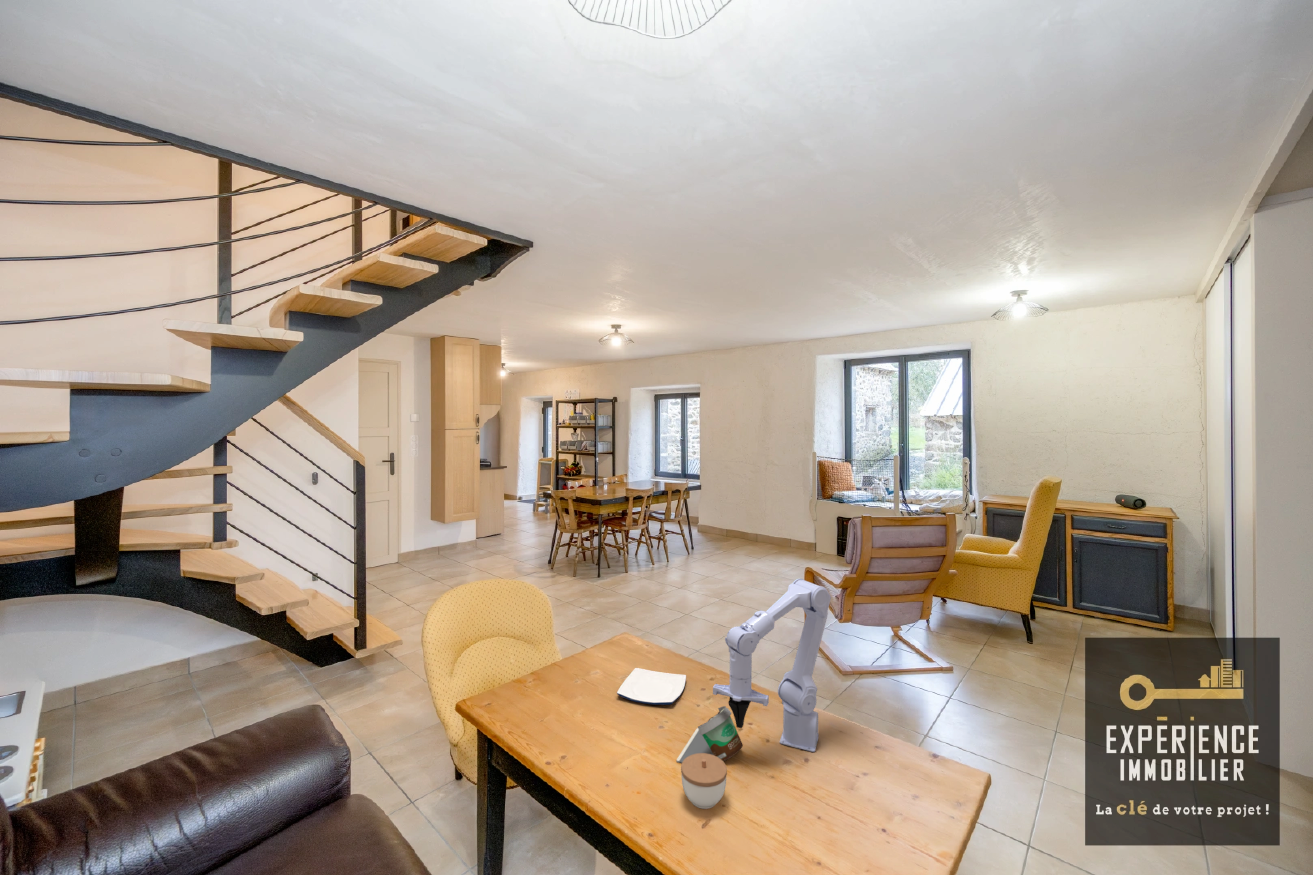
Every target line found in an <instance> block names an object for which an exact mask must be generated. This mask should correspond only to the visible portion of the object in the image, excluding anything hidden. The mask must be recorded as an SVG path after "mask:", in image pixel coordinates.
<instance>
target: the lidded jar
mask: <svg viewBox="0 0 1313 875" xmlns="http://www.w3.org/2000/svg"><path fill="white" fill-rule="evenodd" d="M680 764H681V765H680V772H681V784H682V789H683V791H684V794H685V796H686V798H687V799H688V801H689V802H691V804H692V805H693V806H694V807H695V808H698V809H702V810H709V809H712V808H713V807H715V806H716V804H718V803H719V802H720V800H722V798H723V797H724V794H725V792H726V791H725V790H726V786H727V775H728V767H727V765H726V763H725V762H724V761H722V760H721V759H720V758H718V757H716V756H714V755H711V754H706V753H698V754H693V755H690V756H688V757H687V758H685V759H684V761H683V762H682V763H680Z"/></svg>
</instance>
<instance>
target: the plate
mask: <svg viewBox="0 0 1313 875" xmlns="http://www.w3.org/2000/svg"><path fill="white" fill-rule="evenodd" d="M686 680H687V675H686V674H679V673H670V672H669V673H668V672H661V671H654V670H649V669H644V668H640V667H635V668H634V669H633V670H632V671H631V673H630V674H629V675H628V676H627V677H626V678H625V679H624V681H623V682H622V684H621V685H620V687H619V688H618V690H617V692H616V695H618V696H619V697H621V698H623V699H626V700H629V701H631V702H635V703H640V704H645V705H646V704H648V705H653V706H654V705H655V706H657V705H658V706H659V705H661V706H665V705H666V706H667V705H668V706H669V705H673V703H674V702H676V701H677V700H678V699H679V698H680V697H681V695H682V693H683V692H684V689H685V687H686V686H685V685H686Z"/></svg>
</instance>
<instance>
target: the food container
mask: <svg viewBox="0 0 1313 875" xmlns="http://www.w3.org/2000/svg"><path fill="white" fill-rule="evenodd" d="M717 709H718V712H717V713H716V714H715V715H714V716H712V717H710V718H709V719H708V720H707V721H706V722H703V724H701V725H699V726H697V728H698V729H699V733H700V735H702V736H703V737H704V739H705V741H706V742H707V744H708V746H709V748H710V749H711V751H712V753H713V754H714V756H716V757H718V758H720V759H721V760H722V761H723V762H724V761H727V760H729V759H730V758H732V757H733V756H735V755H736V754H737V753H738V752H740V750H742V748H743V747H744V744H743V742H742V740H741V737H740V735H739V733H738V730H737V729H736V728H737V727H736V725H735V724H734V722H733V719H732V717H731V715H732V711H731V710H730V709H729V708H728V707H726V705H724V706H720V707H718V708H717Z"/></svg>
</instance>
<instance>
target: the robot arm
mask: <svg viewBox="0 0 1313 875" xmlns="http://www.w3.org/2000/svg"><path fill="white" fill-rule="evenodd" d="M831 600H832V596H831V594H830V592H829V590H828V589H827V588H826V587H825V586H822V585H817V584H815V583H813V582H810V581H807V580H805V579H803V578H797V579H795V580H793V582H792V583H790V584H788V586H787V591H785V593H784V594H783V595H782V596H781V597H779V599H778V600H776V601H775V602H774V603H773V604H772V605H771V606H769V608H768V609H767V610H766V611H765V610H759V611H758V610H757V611H755V612H754V614H753V615H752V616H751V617H750V618H748V619H747V620H746V621H744V622H742V623H741V625H739V626H733V627H731V628H730V629H728V632H727V634H726V637H724V641H725V644H726V646H727V647H728V653H729V684H718V683H715V684H714V685H713V686H712V694H713V695H715V696H716V695H720V696H724V697H725V696H726V697H729V700H728V702H727V703H728V706H729V708H730V709H731V710H730V711H731V713H732V714H733V717H734V721H735V728H738V729H742V728H744V723H745V718H746V713H747V711H748V709H749V706H750V704H751V703H756V704H761V705H762V706H763V707H768V705H769V695H768V694H764V693H762V692H759V691H757V690H754V689H753V688H752V675H753V674H752V673H753V672H752V666H753V664H752V663H753V661H752V660H753V659H752V658H753V657H752V656H753V653H754V652H755V651H756V649H757V646H758V645H759V643H760V641H761V640H762V639H763V638H764V637H765V636H766V635H768V634H769V633H770V632H771V631H773V630H774V629H775V622H776V621H778V620H780V619H781V618H782V617H783V616H785V615H786V614H788V613H789V612H791V611H792V610H794V609H795V608H802V610H803V611H804V613H805V615H806V616H805V620H804V624H803V628H802V631H801V636H800V639H799V642H798V646H797V651H796V653H795V658H794V661H793V665H792V669H791V670H788V671H787V672H785V673H783V674H784V675H783V678H782V680H781V681H780V682H779V684H778V688H777V695H778V697H779V699H780V700H781V704H782V705H783V707H782V708H783V718H782V719H783V720H782V721H783V722H782V724H783V725H782V733H781V736H780V740H779V744H781V745H784V746H788V747H792V748H796V749H800V750H805V751H807V752H812V753H815V752H816V749H817V744H818V741H819V738H820V737H819V713H818V712H817V711H815V708H816V706H817V692H818V687H817V685H816V683H815V681H814V680H813V673H814V669H815V665H816V662H817V659H818V658H817V657H818V654H819V651H820V650H819V649H820V646H821V642H822V638H823V635H824V631H825V627H826V624H827V619H828V615H829V612H828V610H829V608H830V607H829V606H830V603H831Z"/></svg>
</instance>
